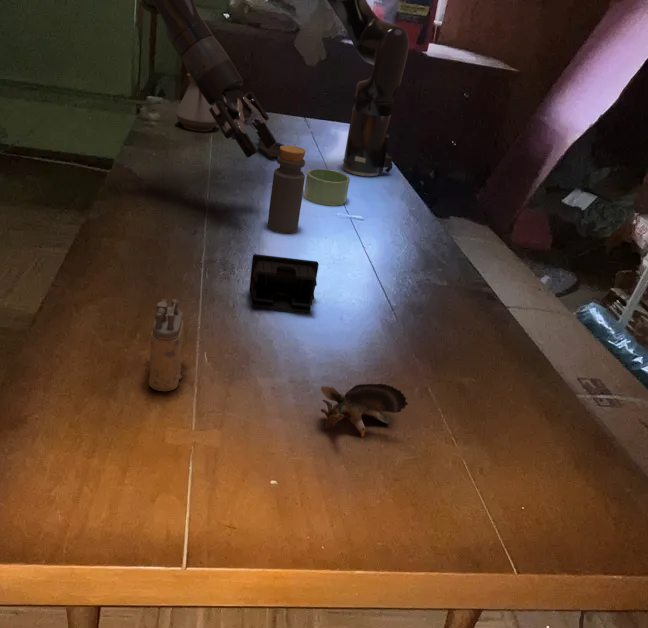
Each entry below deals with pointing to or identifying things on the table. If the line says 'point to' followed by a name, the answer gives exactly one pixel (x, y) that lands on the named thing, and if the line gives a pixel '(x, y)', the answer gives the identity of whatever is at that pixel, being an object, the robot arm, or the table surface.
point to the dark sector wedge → (270, 150)
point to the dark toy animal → (363, 403)
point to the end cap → (283, 283)
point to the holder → (326, 187)
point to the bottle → (287, 190)
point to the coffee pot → (195, 110)
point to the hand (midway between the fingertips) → (262, 150)
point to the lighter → (166, 347)
